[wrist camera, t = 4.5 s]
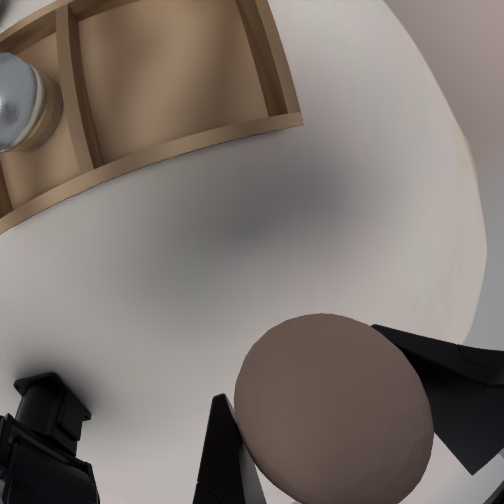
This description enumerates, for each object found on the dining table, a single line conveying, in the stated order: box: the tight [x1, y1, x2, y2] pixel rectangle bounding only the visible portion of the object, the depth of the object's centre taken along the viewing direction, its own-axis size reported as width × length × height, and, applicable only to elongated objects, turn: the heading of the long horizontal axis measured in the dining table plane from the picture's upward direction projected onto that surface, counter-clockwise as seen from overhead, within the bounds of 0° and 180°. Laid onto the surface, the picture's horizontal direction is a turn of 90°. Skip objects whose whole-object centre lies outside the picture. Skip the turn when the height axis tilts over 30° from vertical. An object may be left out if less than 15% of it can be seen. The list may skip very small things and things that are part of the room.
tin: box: [0, 52, 63, 153], centre depth 9 cm, size 5×5×6 cm
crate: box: [0, 0, 304, 234], centre depth 11 cm, size 20×13×4 cm, turn 104°
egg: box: [234, 313, 434, 504], centre depth 7 cm, size 5×5×7 cm
